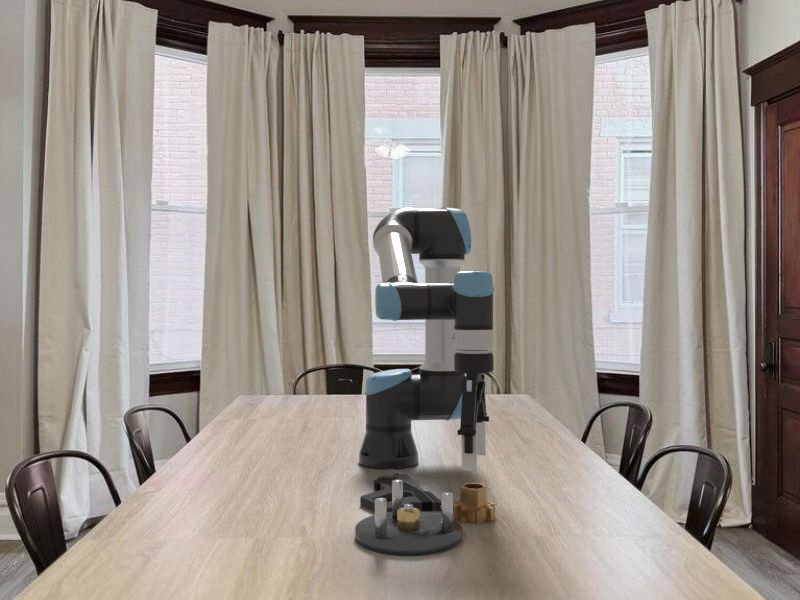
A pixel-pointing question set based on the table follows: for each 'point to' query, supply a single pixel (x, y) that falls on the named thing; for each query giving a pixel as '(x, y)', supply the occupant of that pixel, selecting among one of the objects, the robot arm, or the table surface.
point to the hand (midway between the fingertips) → (474, 462)
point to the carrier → (408, 527)
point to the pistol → (410, 494)
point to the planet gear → (474, 504)
